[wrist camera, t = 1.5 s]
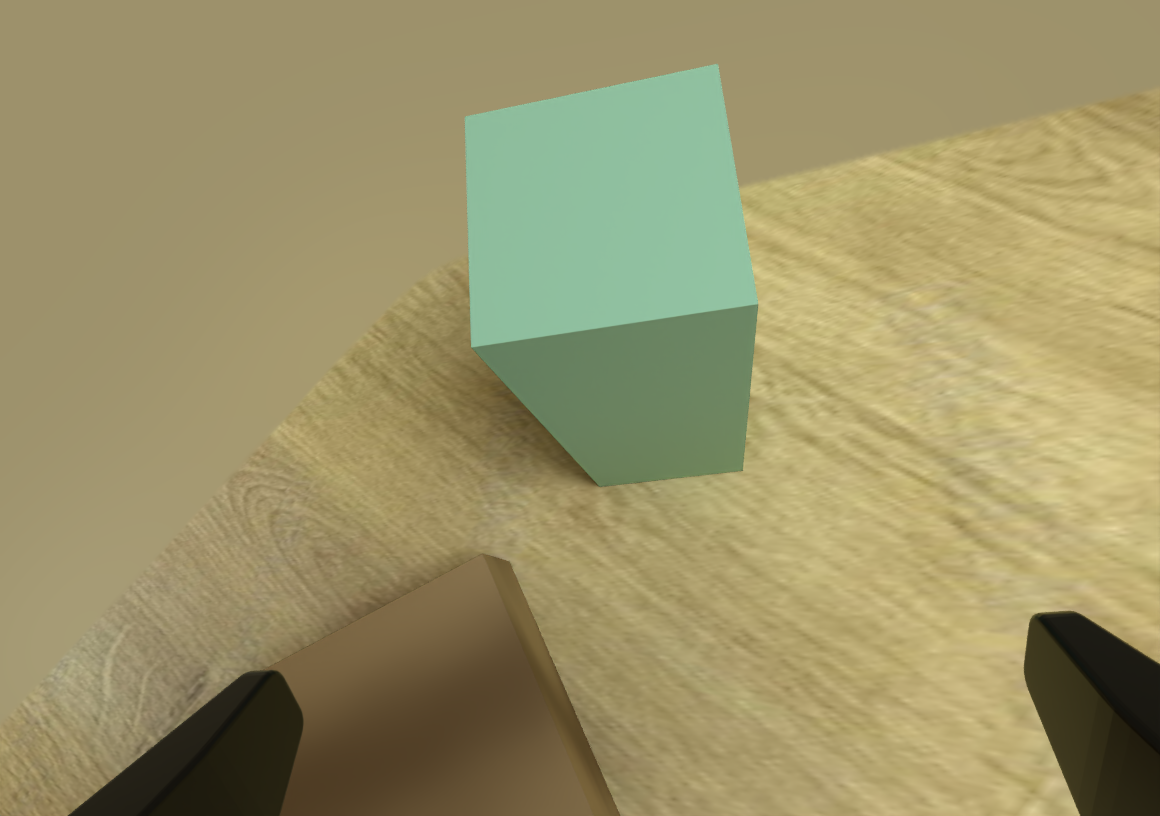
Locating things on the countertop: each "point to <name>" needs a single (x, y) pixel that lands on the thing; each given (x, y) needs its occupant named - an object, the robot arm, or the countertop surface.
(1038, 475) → the countertop surface
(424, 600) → the walnut block
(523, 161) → the teal block
